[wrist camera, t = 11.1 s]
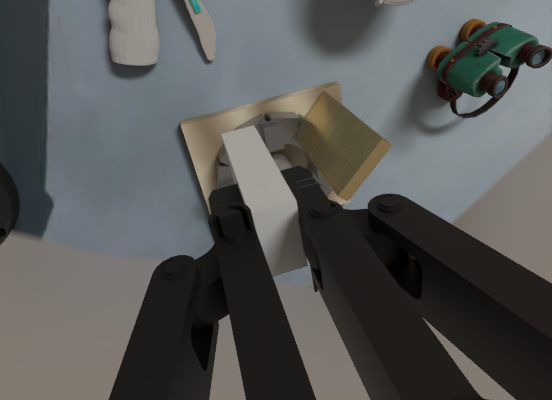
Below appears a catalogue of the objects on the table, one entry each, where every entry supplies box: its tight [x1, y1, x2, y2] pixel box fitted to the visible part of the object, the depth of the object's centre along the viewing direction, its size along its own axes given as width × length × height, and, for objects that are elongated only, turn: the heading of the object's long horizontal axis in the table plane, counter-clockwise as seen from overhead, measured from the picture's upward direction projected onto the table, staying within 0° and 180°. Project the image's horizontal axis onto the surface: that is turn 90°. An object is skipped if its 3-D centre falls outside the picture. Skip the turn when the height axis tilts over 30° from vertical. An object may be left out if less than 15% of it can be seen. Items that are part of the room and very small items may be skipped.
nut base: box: [180, 82, 350, 215], centre depth 47 cm, size 18×16×4 cm
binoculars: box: [428, 19, 552, 118], centre depth 44 cm, size 9×11×10 cm
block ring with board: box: [216, 91, 392, 202], centre depth 41 cm, size 18×14×14 cm
